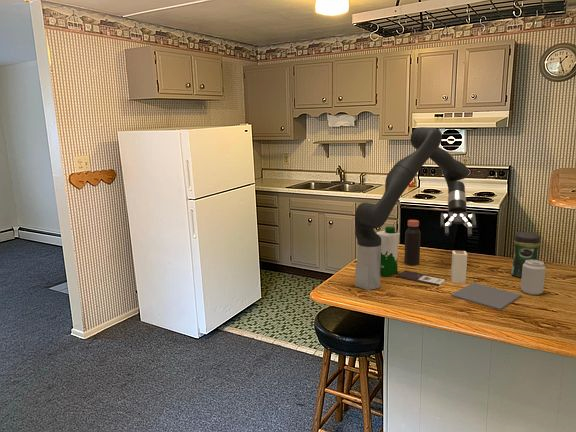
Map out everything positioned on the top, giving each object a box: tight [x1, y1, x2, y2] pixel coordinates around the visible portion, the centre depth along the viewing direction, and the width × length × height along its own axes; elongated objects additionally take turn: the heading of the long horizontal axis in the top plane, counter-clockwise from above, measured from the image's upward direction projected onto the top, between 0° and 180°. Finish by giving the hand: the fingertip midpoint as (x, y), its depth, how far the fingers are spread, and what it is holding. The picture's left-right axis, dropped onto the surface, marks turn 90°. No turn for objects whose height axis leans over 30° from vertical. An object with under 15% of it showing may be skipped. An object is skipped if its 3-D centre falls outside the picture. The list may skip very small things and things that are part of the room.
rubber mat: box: [450, 282, 522, 311], centre depth 162 cm, size 18×18×1 cm
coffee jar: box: [511, 231, 541, 279], centre depth 181 cm, size 10×8×19 cm
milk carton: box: [376, 226, 401, 278], centre depth 187 cm, size 9×9×20 cm
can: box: [520, 259, 546, 296], centre depth 164 cm, size 8×8×12 cm
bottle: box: [403, 219, 422, 266], centre depth 200 cm, size 7×7×20 cm
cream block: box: [450, 250, 468, 284], centre depth 177 cm, size 5×5×12 cm
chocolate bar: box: [395, 270, 447, 287], centre depth 182 cm, size 9×1×18 cm
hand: (458, 235), depth 185 cm, fingers open, 8 cm apart
